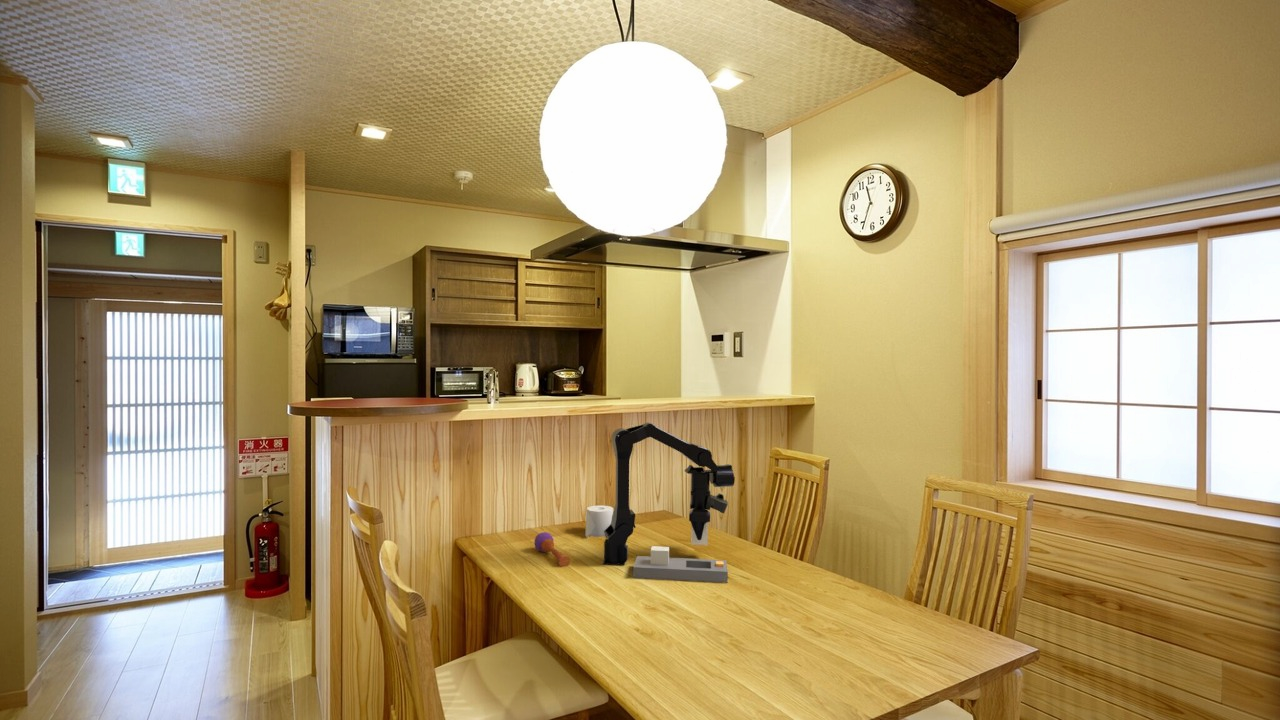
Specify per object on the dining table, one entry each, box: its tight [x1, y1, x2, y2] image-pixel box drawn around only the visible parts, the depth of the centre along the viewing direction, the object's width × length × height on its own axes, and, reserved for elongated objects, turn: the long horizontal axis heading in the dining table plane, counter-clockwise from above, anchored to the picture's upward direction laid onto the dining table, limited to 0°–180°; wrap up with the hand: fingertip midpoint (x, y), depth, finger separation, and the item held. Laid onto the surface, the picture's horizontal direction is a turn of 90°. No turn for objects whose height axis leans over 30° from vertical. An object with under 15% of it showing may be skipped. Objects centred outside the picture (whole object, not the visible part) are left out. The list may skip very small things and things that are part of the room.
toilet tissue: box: [584, 505, 614, 539], centre depth 216 cm, size 9×13×9 cm
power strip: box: [632, 545, 729, 584], centre depth 177 cm, size 26×10×7 cm, turn 84°
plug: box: [690, 522, 709, 546], centre depth 192 cm, size 5×4×7 cm
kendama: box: [533, 532, 571, 568], centre depth 190 cm, size 6×6×20 cm
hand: (699, 537), depth 192 cm, fingers closed on plug, 4 cm apart
